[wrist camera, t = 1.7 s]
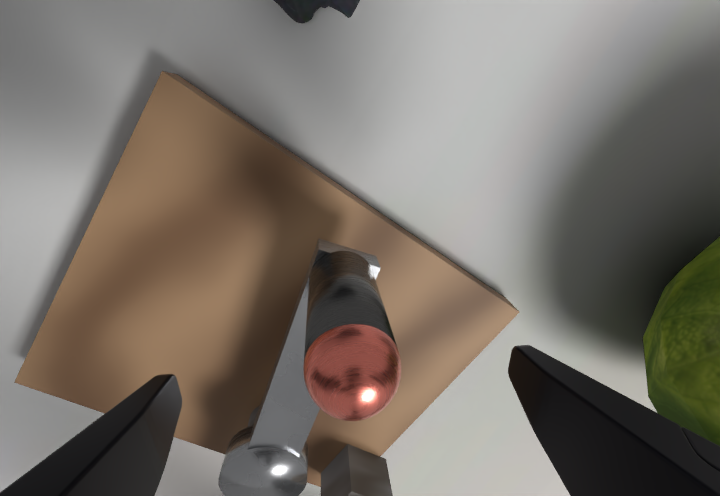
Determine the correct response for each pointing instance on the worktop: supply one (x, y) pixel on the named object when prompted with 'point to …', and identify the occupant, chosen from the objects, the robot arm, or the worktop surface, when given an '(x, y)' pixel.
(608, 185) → the worktop surface
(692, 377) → the lettuce
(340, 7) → the dark slate chunk
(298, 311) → the lever
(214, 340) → the tan wooden panel
